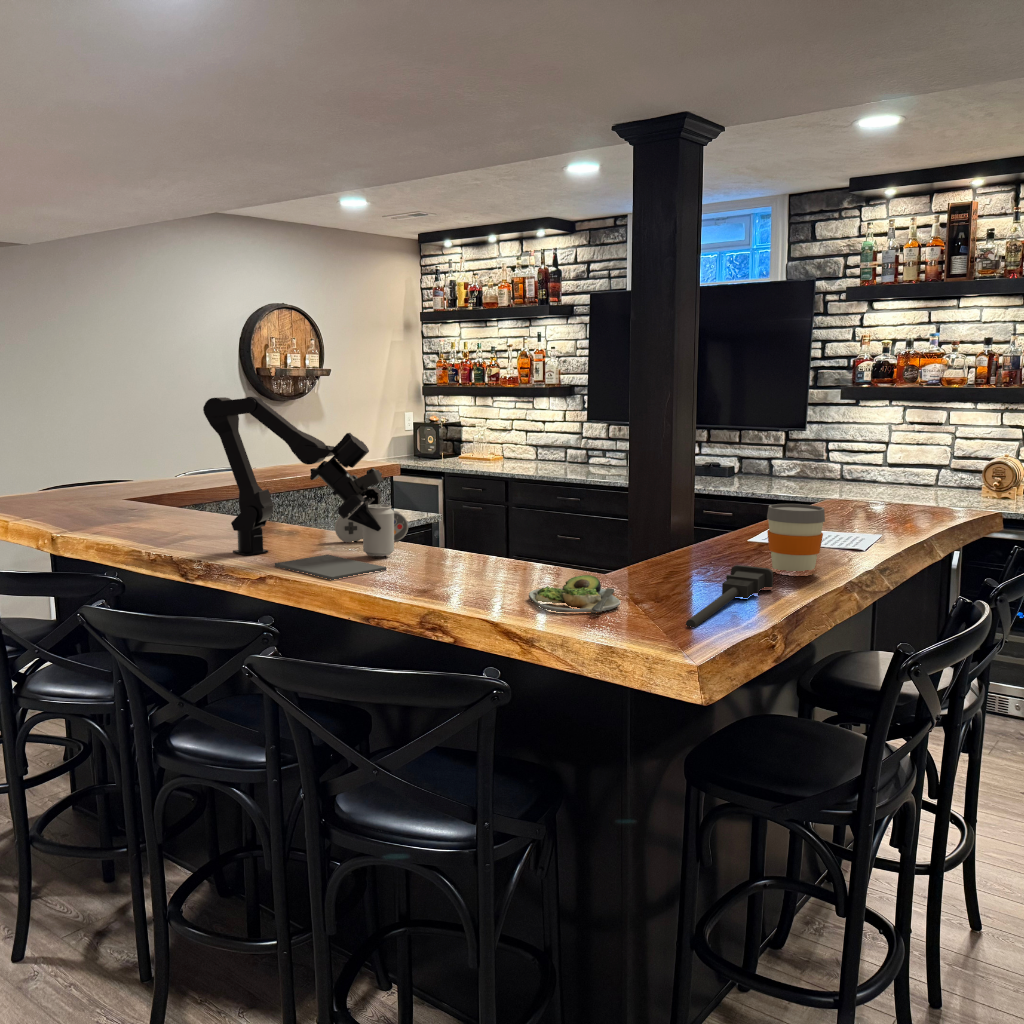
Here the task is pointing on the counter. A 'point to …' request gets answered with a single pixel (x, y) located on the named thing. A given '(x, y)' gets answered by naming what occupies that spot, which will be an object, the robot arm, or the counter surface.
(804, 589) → the counter surface
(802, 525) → the reusable coffee cup
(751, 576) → the electrical plug
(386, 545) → the can
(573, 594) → the avocado toast plate
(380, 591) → the counter surface
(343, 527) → the game controller
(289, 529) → the counter surface
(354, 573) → the bar mat
